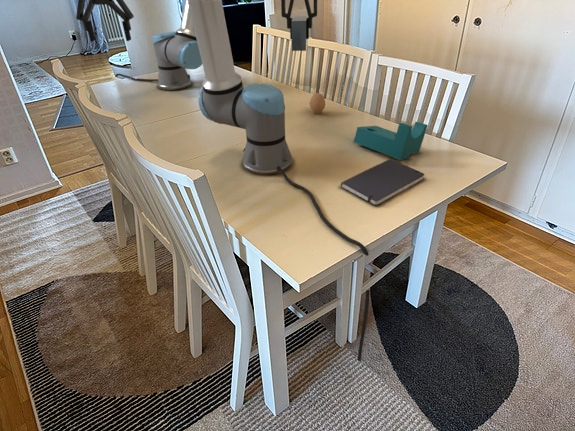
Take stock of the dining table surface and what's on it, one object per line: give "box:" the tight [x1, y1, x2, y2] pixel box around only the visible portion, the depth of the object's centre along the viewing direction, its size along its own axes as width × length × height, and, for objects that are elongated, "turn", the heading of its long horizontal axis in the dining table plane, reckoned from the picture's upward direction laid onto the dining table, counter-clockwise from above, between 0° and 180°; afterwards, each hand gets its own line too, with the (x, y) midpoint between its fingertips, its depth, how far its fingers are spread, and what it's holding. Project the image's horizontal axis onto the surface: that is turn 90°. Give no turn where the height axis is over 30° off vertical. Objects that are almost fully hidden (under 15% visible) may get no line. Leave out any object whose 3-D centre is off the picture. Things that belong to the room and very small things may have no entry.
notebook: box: [340, 158, 425, 206], centre depth 114 cm, size 13×2×21 cm
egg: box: [309, 92, 326, 114], centre depth 156 cm, size 6×6×8 cm
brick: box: [291, 15, 308, 52], centre depth 145 cm, size 9×5×10 cm, turn 175°
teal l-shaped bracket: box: [353, 121, 428, 161], centre depth 129 cm, size 18×11×10 cm, turn 43°
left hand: (111, 40), depth 149 cm, fingers open, 13 cm apart
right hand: (299, 38), depth 146 cm, fingers closed on brick, 5 cm apart
